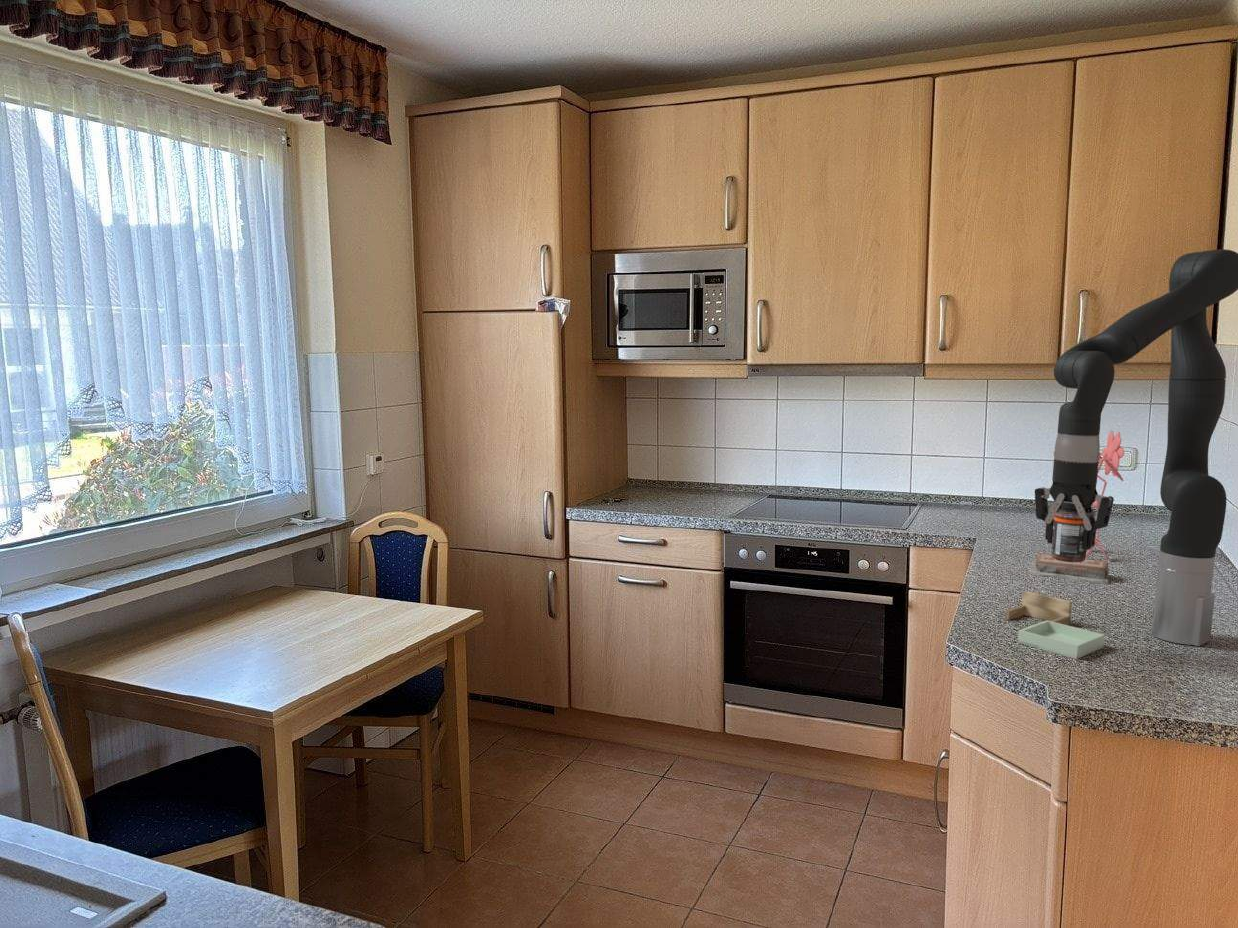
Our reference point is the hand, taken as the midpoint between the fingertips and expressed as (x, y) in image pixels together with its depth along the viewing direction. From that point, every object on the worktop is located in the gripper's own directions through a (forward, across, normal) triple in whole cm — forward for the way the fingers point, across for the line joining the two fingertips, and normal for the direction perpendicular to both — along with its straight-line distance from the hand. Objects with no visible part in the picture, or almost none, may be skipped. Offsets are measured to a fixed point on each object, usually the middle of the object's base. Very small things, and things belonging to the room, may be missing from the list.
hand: (1068, 545), depth 172 cm
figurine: (+20, +29, -87) cm, 94 cm away
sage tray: (+19, 0, 0) cm, 19 cm away
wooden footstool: (+19, +10, -10) cm, 24 cm away
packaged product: (+20, +26, -57) cm, 66 cm away
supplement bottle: (+3, 0, 0) cm, 3 cm away
